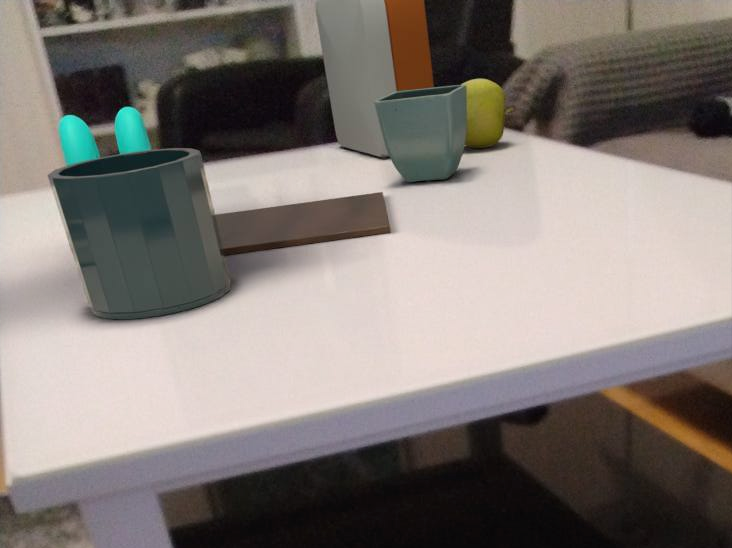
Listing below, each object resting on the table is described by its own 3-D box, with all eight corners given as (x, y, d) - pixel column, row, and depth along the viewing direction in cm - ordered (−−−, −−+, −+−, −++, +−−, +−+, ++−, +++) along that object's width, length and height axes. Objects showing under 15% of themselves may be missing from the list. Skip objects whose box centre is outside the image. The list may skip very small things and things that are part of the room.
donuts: (84, 197, 134) (59, 113, 129) (161, 185, 136) (139, 101, 130) (79, 210, 126) (51, 121, 121) (160, 197, 128) (137, 109, 122)
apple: (517, 148, 130) (511, 77, 126) (446, 156, 131) (438, 86, 126) (515, 139, 137) (510, 71, 132) (448, 147, 137) (440, 80, 133)
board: (181, 261, 97) (179, 254, 96) (202, 222, 112) (200, 216, 111) (390, 232, 97) (389, 225, 97) (383, 197, 112) (382, 191, 112)
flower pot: (405, 173, 124) (394, 90, 119) (475, 167, 122) (467, 83, 117) (385, 188, 117) (372, 101, 112) (459, 183, 115) (450, 93, 110)
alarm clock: (443, 148, 137) (422, -35, 125) (382, 160, 134) (355, -26, 122) (392, 137, 151) (369, -29, 139) (336, 147, 148) (308, -21, 137)
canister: (78, 327, 81) (32, 185, 75) (105, 289, 90) (66, 160, 85) (224, 306, 81) (189, 164, 75) (236, 271, 91) (206, 142, 85)
